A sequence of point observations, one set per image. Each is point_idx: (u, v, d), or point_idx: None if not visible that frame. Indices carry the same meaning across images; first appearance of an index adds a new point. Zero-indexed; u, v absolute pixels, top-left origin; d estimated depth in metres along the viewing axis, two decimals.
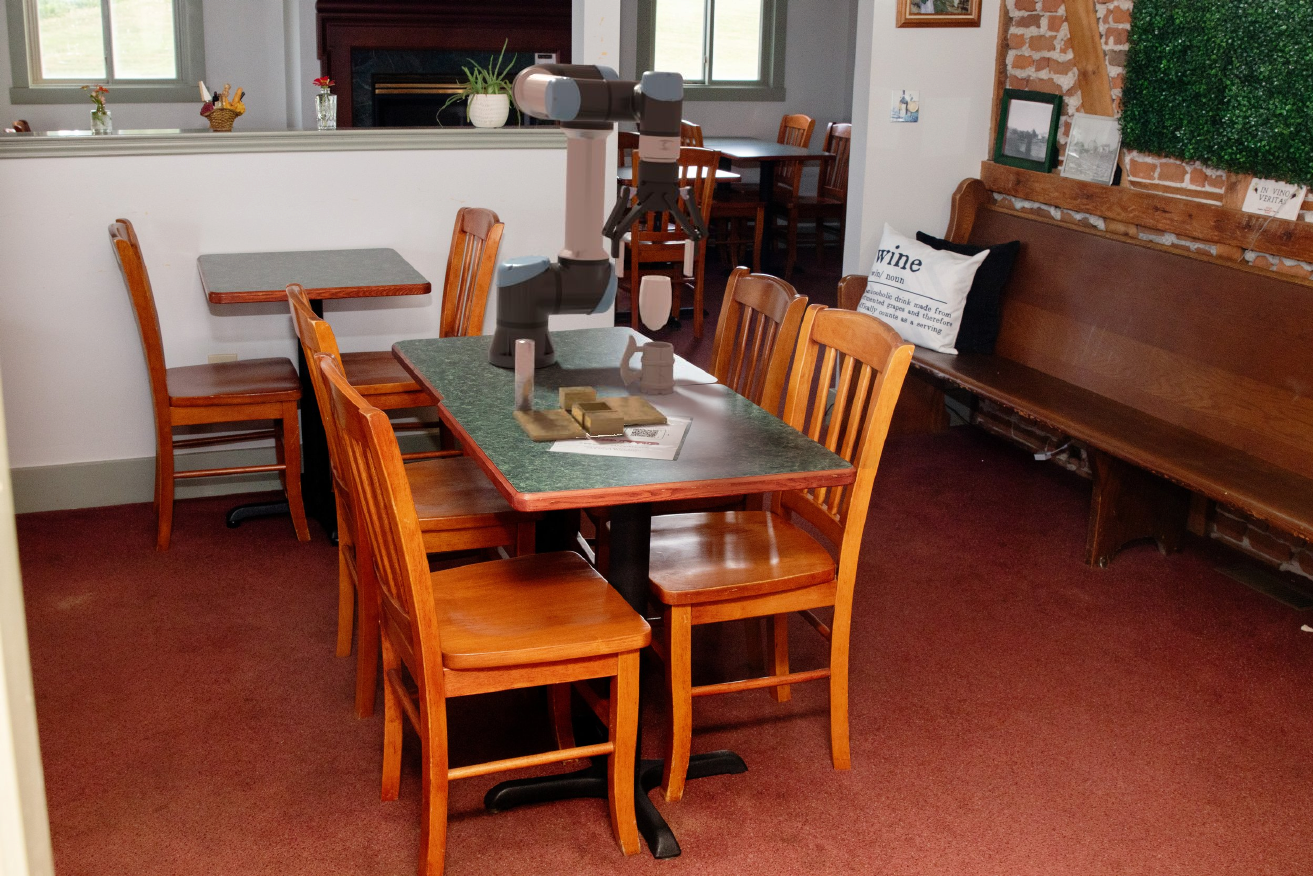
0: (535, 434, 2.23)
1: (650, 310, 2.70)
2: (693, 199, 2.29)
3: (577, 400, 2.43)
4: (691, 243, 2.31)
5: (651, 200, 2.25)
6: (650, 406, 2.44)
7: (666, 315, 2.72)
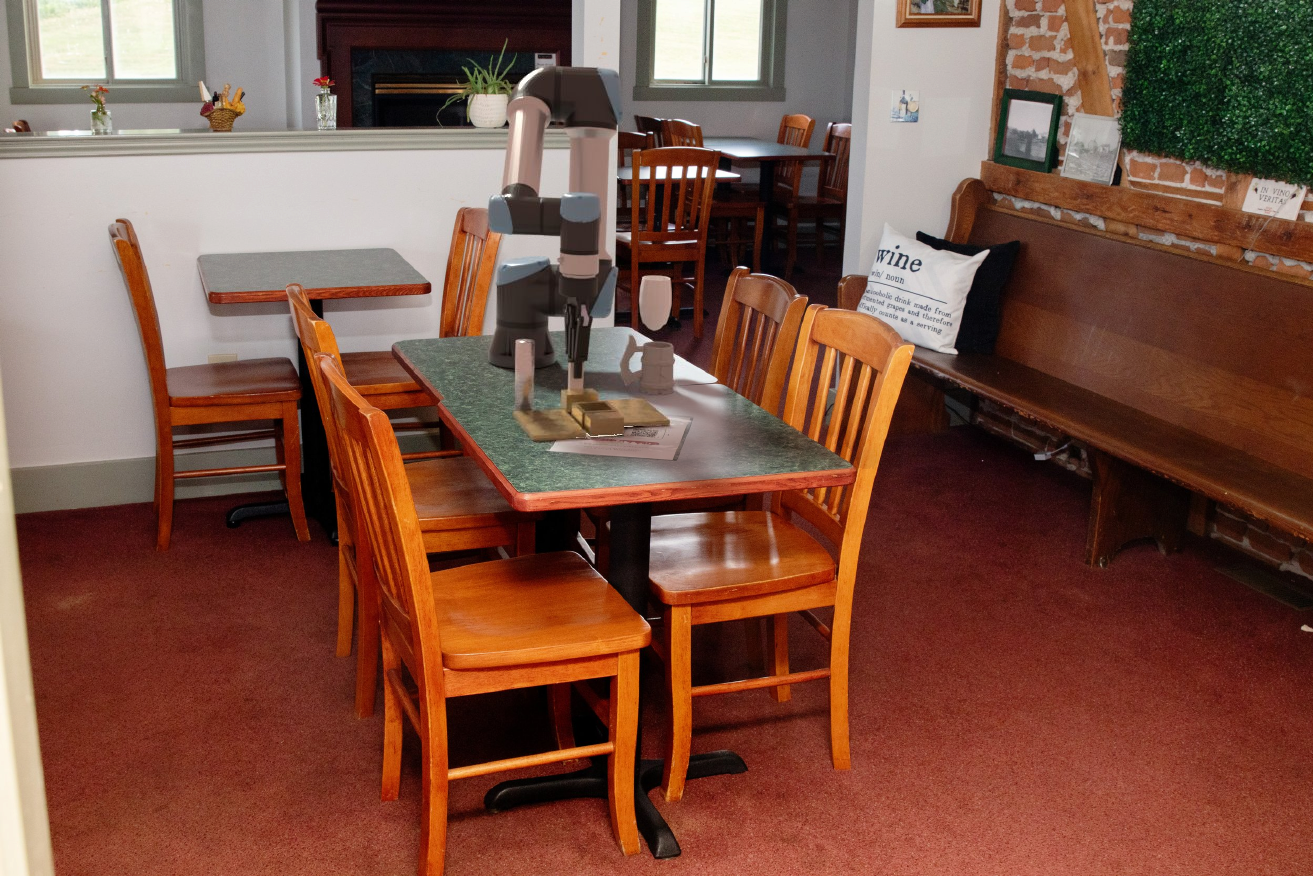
0: (535, 434, 2.23)
1: (650, 310, 2.70)
2: (578, 326, 2.36)
3: None
4: (569, 363, 2.43)
5: (566, 311, 2.41)
6: (653, 408, 2.43)
7: (666, 315, 2.72)
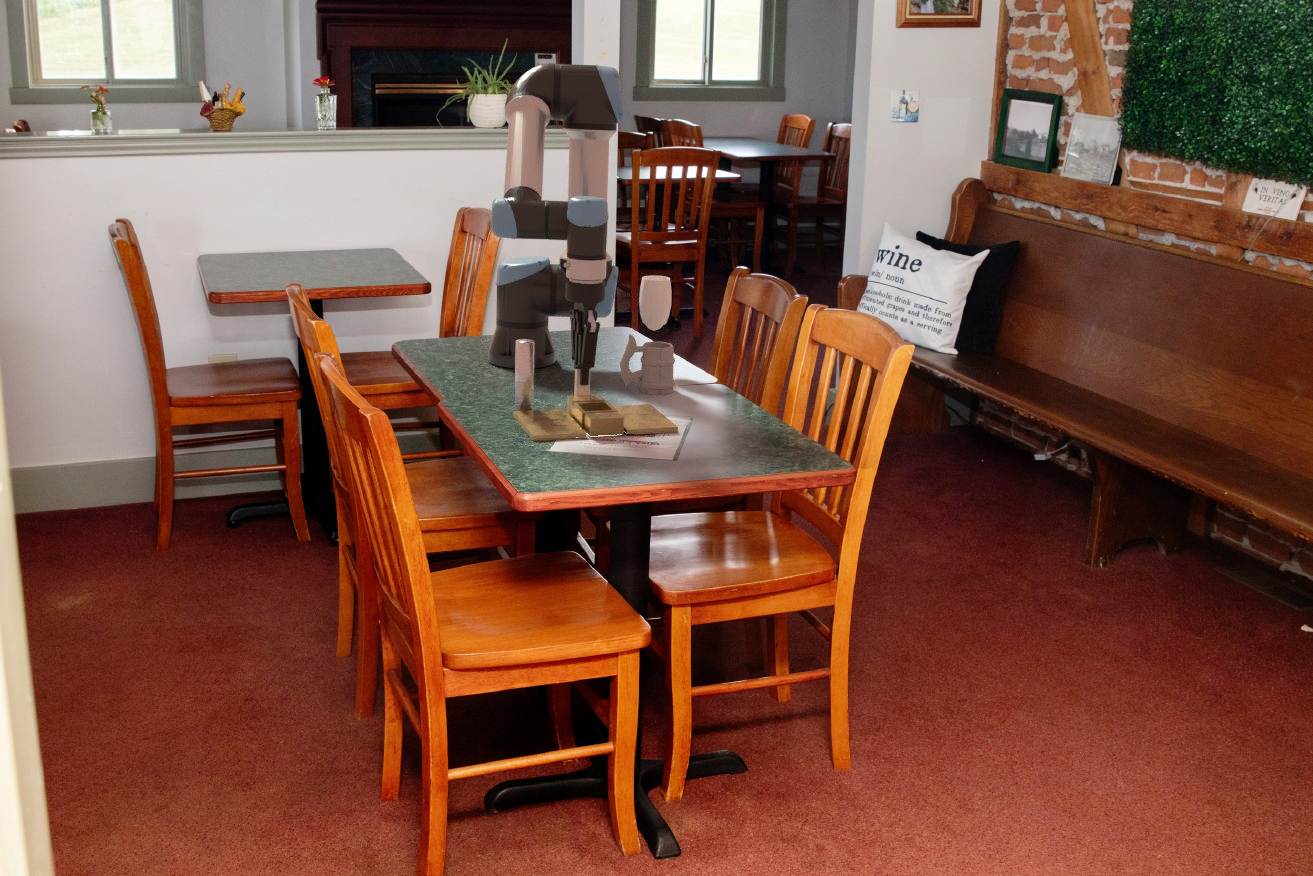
0: (535, 434, 2.23)
1: (650, 310, 2.70)
2: (585, 332, 2.32)
3: None
4: (576, 369, 2.39)
5: (573, 316, 2.37)
6: (660, 414, 2.39)
7: (666, 315, 2.72)
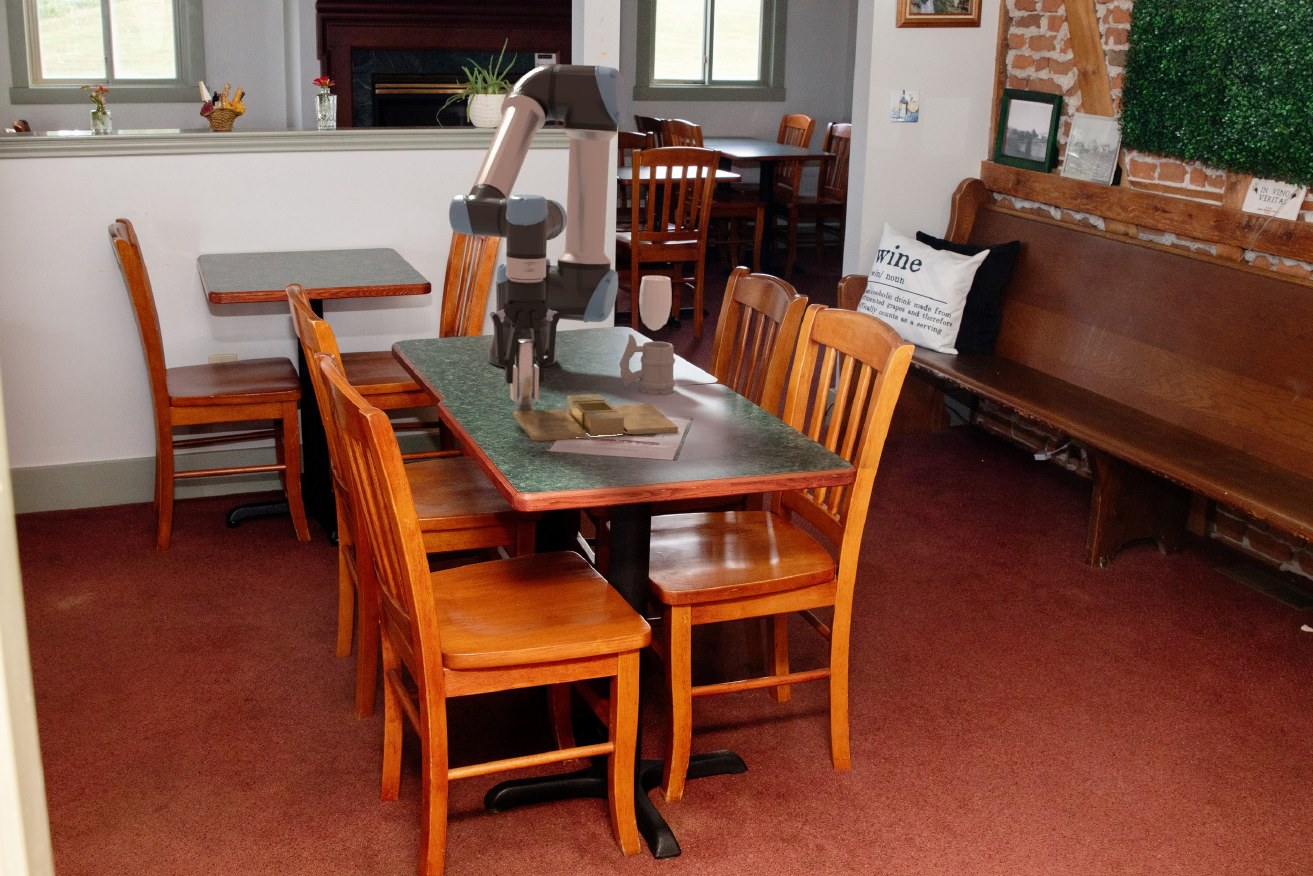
0: (535, 434, 2.23)
1: (650, 310, 2.70)
2: (555, 324, 2.36)
3: None
4: (536, 369, 2.38)
5: (520, 319, 2.33)
6: (660, 414, 2.39)
7: (666, 315, 2.72)
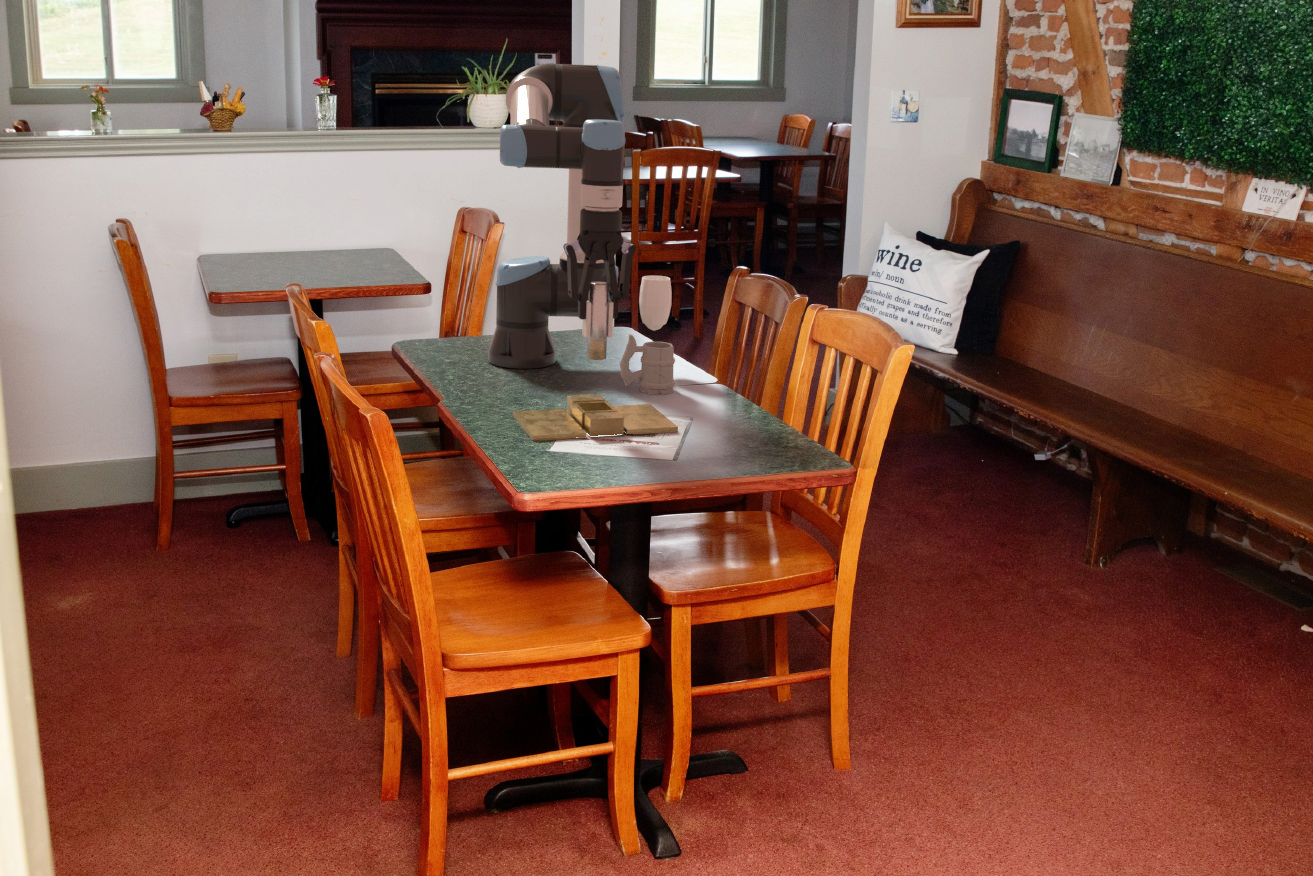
0: (535, 434, 2.23)
1: (650, 310, 2.70)
2: (630, 256, 2.26)
3: None
4: (610, 304, 2.27)
5: (596, 250, 2.23)
6: (660, 414, 2.39)
7: (666, 315, 2.72)
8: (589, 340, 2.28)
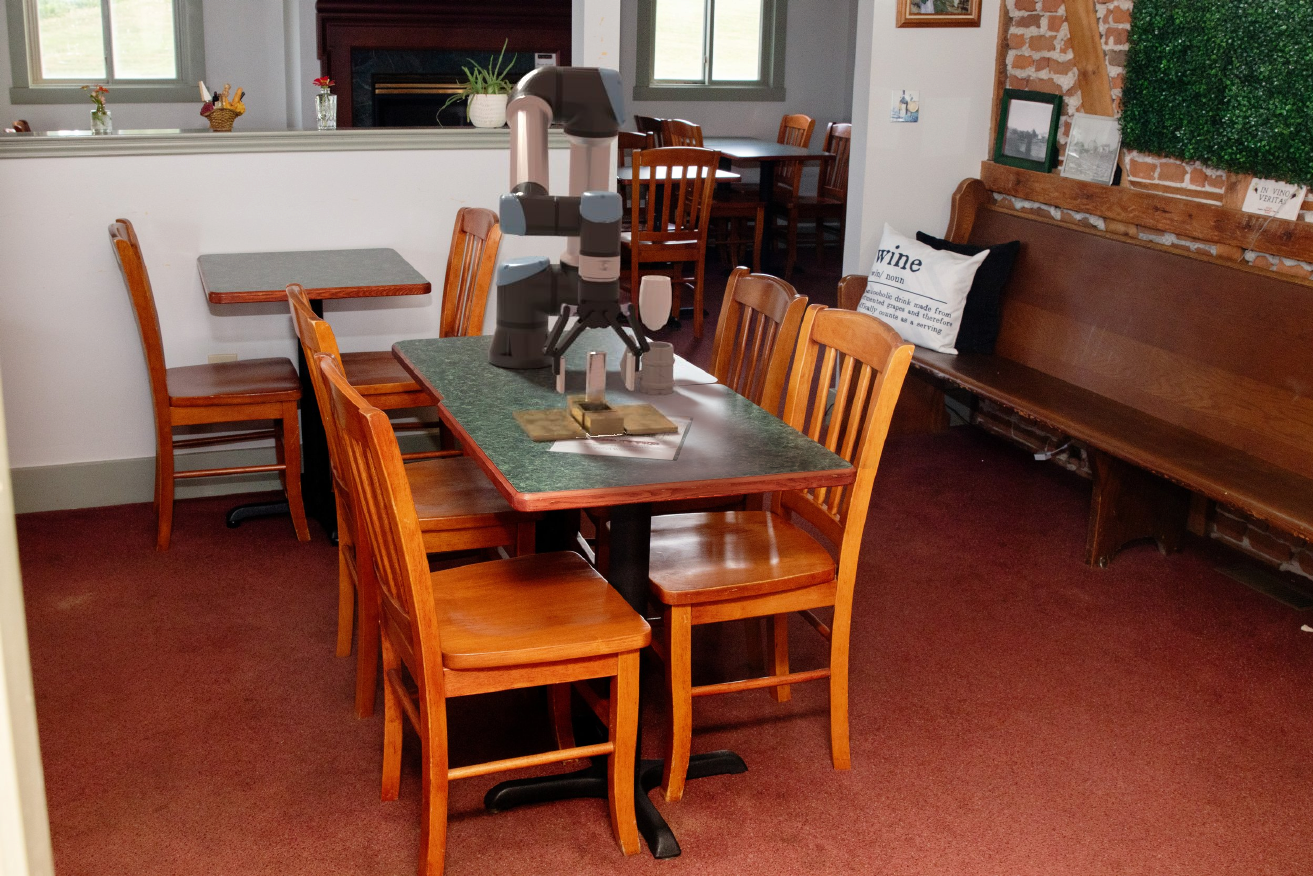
0: (535, 434, 2.23)
1: (650, 310, 2.70)
2: (634, 315, 2.29)
3: None
4: (632, 358, 2.32)
5: (591, 318, 2.26)
6: (660, 414, 2.39)
7: (666, 315, 2.72)
8: (587, 408, 2.32)
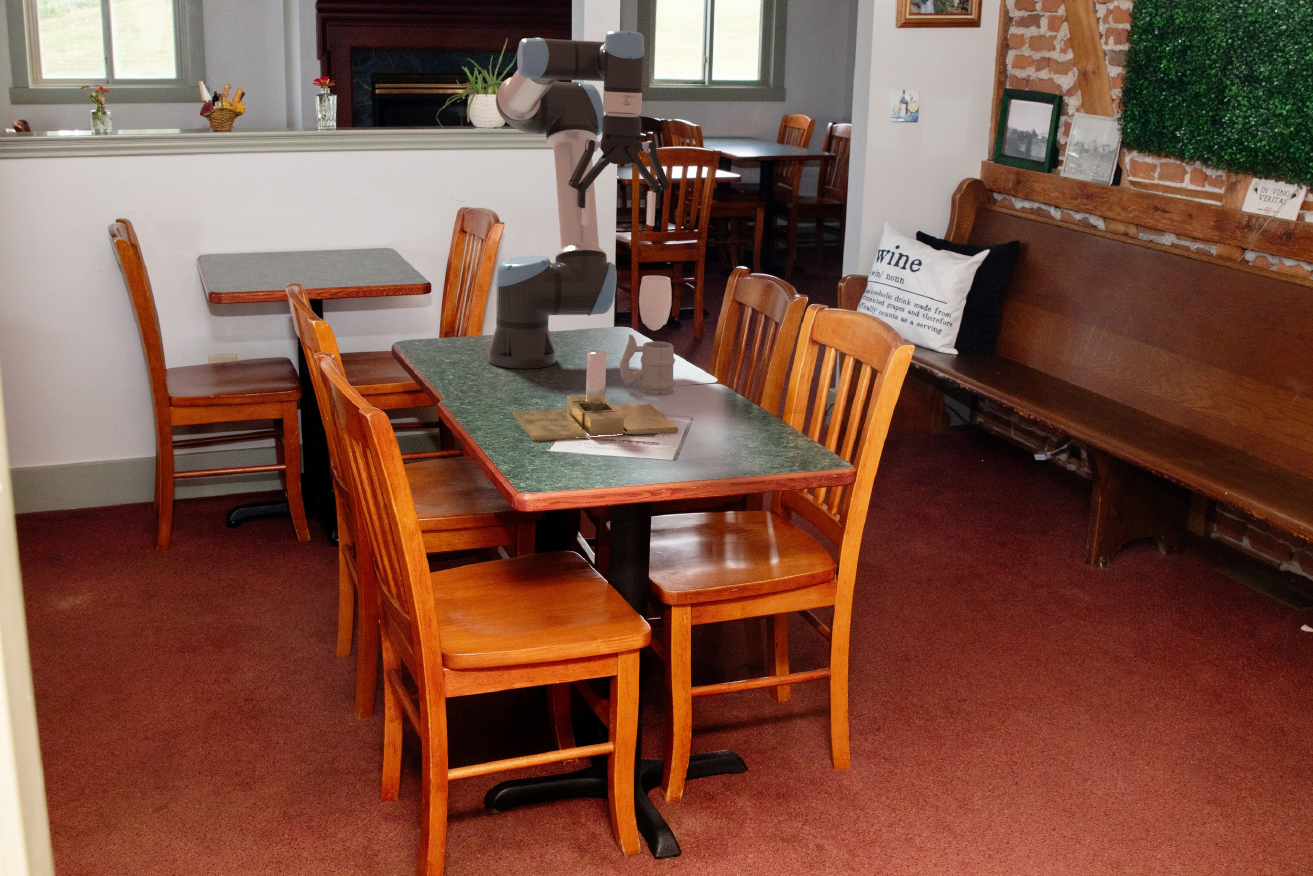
0: (535, 434, 2.23)
1: (650, 310, 2.70)
2: (654, 152, 2.43)
3: None
4: (653, 194, 2.46)
5: (615, 153, 2.40)
6: (660, 414, 2.39)
7: (666, 315, 2.72)
8: (587, 408, 2.32)
